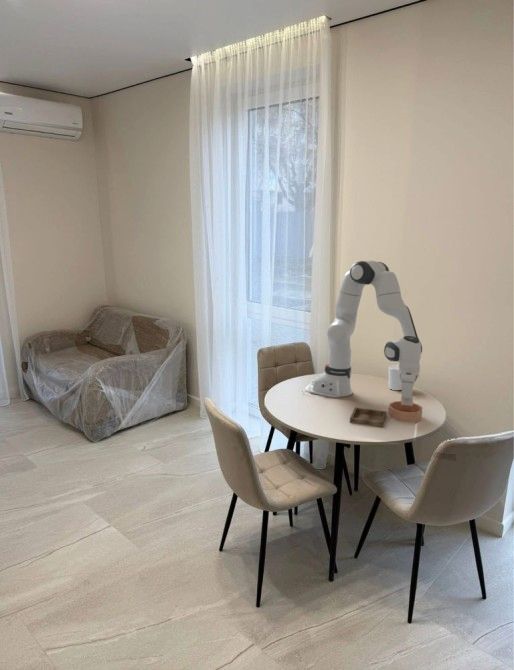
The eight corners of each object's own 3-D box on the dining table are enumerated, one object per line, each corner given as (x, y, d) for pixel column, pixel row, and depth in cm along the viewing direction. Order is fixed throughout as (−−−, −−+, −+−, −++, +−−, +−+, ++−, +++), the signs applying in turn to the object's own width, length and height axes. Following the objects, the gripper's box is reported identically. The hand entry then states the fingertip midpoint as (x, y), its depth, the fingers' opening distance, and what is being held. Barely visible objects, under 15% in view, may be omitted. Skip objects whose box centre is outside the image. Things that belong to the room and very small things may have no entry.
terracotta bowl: (386, 420, 219) (387, 410, 218) (389, 409, 233) (390, 399, 232) (420, 425, 215) (421, 414, 213) (422, 413, 228) (422, 403, 227)
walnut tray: (349, 424, 215) (350, 418, 214) (354, 413, 227) (355, 407, 227) (382, 429, 210) (382, 422, 209) (385, 417, 223) (386, 411, 222)
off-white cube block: (400, 404, 221) (401, 397, 220) (401, 401, 225) (402, 394, 224) (412, 405, 220) (413, 398, 219) (412, 402, 223) (413, 395, 223)
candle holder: (408, 387, 264) (410, 366, 261) (402, 392, 256) (404, 370, 253) (390, 384, 269) (391, 363, 267) (384, 389, 261) (386, 367, 259)
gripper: (403, 365, 230) (401, 393, 233) (400, 378, 211) (397, 408, 214) (417, 367, 228) (415, 395, 231) (415, 379, 209) (413, 410, 212)
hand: (406, 401), depth 222 cm, fingers closed on off-white cube block, 4 cm apart
